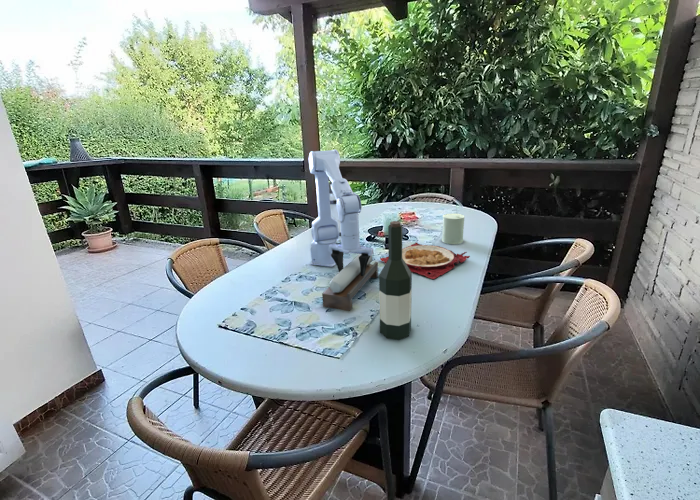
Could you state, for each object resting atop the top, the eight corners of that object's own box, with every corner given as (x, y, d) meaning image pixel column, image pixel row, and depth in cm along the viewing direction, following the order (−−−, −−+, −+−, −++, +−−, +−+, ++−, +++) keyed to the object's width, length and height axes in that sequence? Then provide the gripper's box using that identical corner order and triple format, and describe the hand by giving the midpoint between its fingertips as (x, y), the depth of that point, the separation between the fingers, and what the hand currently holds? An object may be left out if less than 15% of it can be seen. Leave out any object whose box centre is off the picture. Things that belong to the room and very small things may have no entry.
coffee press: (312, 247, 163) (307, 180, 153) (327, 236, 177) (323, 174, 167) (348, 250, 157) (345, 180, 147) (361, 239, 171) (358, 174, 161)
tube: (344, 284, 106) (374, 254, 127) (328, 276, 107) (360, 248, 129) (339, 298, 109) (370, 267, 130) (324, 291, 110) (356, 261, 131)
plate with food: (416, 246, 159) (416, 239, 158) (470, 259, 141) (470, 251, 140) (378, 262, 144) (378, 254, 143) (433, 279, 126) (433, 270, 125)
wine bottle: (377, 324, 101) (375, 219, 90) (407, 321, 101) (408, 216, 91) (382, 341, 93) (380, 228, 83) (414, 338, 94) (417, 226, 83)
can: (452, 245, 157) (453, 218, 153) (437, 240, 165) (438, 214, 160) (467, 241, 161) (469, 215, 157) (452, 236, 169) (453, 211, 165)
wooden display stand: (323, 306, 112) (321, 290, 110) (354, 273, 134) (354, 259, 132) (350, 311, 108) (349, 294, 106) (378, 276, 131) (377, 261, 129)
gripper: (323, 235, 114) (326, 275, 118) (367, 239, 108) (368, 281, 113) (333, 229, 120) (335, 267, 124) (375, 232, 114) (376, 272, 119)
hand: (351, 273), depth 119 cm, fingers open, 7 cm apart
